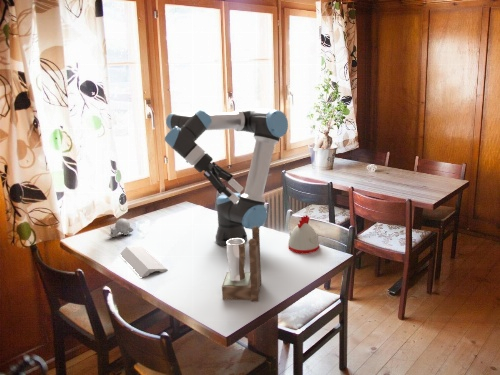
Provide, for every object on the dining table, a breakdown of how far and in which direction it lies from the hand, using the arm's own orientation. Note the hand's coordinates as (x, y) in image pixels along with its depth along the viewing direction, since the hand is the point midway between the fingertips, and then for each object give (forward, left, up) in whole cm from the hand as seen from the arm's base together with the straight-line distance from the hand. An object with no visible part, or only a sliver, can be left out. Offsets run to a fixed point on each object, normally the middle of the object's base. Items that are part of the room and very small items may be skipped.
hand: (239, 195), depth 186 cm
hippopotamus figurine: (-68, -39, -33) cm, 85 cm away
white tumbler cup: (+14, -8, -28) cm, 32 cm away
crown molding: (-30, -36, -33) cm, 57 cm away
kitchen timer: (-9, +34, -33) cm, 48 cm away
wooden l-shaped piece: (+15, -7, -33) cm, 37 cm away
